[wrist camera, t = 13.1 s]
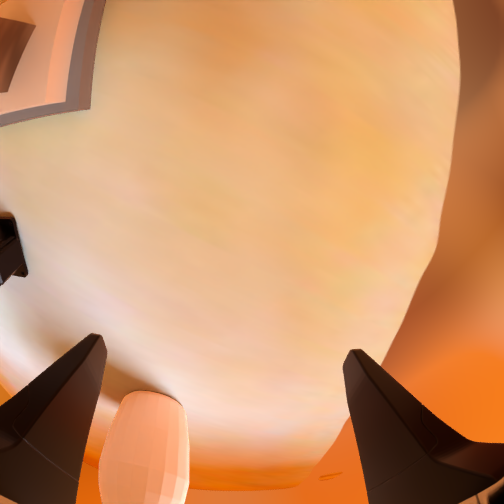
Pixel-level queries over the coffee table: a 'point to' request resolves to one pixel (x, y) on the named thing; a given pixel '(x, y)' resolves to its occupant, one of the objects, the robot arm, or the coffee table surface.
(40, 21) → the tower top slab
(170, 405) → the bottle
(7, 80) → the walnut block
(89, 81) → the tower base slab
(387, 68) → the coffee table surface
